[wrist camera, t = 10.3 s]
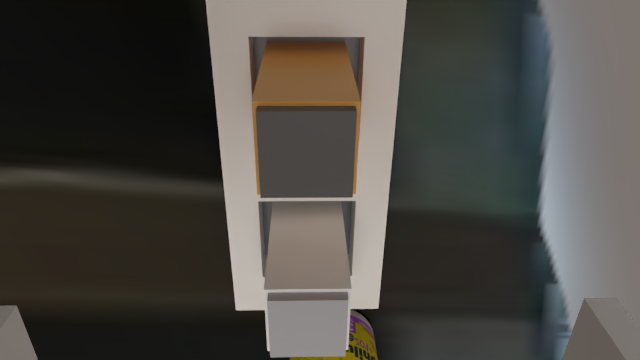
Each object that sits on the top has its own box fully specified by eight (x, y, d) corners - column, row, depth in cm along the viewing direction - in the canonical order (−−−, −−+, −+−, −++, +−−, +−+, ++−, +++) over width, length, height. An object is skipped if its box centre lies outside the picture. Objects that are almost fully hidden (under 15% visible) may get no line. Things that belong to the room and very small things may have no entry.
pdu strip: (212, -35, 27) (202, -27, 24) (399, -33, 27) (409, -25, 25) (240, 281, 38) (235, 310, 35) (373, 280, 38) (378, 308, 36)
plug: (266, 40, 28) (250, 106, 20) (344, 40, 29) (362, 106, 20) (269, 113, 31) (256, 201, 22) (342, 113, 31) (357, 201, 22)
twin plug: (273, 192, 33) (262, 298, 25) (340, 191, 34) (352, 297, 25) (275, 245, 36) (266, 359, 27) (338, 244, 36) (348, 358, 27)
